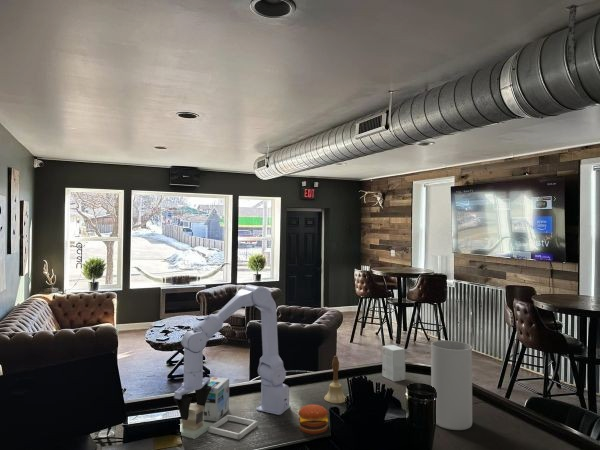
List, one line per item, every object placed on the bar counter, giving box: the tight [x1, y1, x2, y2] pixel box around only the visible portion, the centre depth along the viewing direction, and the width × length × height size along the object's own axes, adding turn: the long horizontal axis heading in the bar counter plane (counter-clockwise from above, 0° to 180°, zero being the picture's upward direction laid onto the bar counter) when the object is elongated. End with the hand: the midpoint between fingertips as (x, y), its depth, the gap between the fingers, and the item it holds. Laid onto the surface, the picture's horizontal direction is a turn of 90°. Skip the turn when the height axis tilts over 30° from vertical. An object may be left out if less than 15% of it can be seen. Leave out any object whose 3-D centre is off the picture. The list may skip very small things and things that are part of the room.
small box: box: [381, 344, 406, 383], centre depth 181 cm, size 8×6×13 cm
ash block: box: [181, 403, 205, 431], centre depth 132 cm, size 4×5×6 cm
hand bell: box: [324, 355, 347, 404], centre depth 157 cm, size 8×8×16 cm
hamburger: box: [298, 404, 329, 435], centre depth 134 cm, size 9×10×7 cm
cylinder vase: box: [430, 339, 473, 431], centre depth 138 cm, size 12×12×25 cm
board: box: [179, 420, 214, 440], centre depth 132 cm, size 9×9×1 cm
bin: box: [207, 414, 258, 440], centre depth 132 cm, size 11×10×2 cm
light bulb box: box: [204, 376, 230, 422], centre depth 143 cm, size 11×7×11 cm, turn 168°
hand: (192, 414), depth 132 cm, fingers open, 7 cm apart
